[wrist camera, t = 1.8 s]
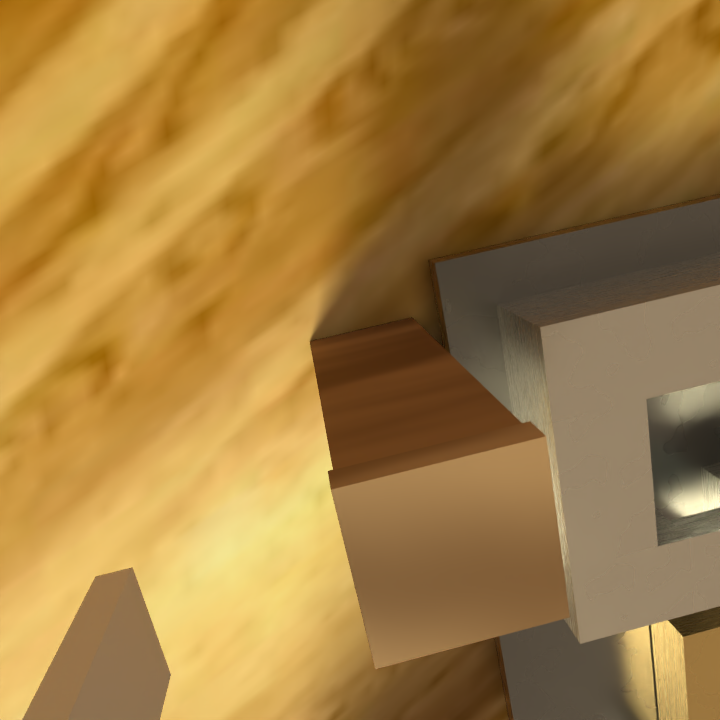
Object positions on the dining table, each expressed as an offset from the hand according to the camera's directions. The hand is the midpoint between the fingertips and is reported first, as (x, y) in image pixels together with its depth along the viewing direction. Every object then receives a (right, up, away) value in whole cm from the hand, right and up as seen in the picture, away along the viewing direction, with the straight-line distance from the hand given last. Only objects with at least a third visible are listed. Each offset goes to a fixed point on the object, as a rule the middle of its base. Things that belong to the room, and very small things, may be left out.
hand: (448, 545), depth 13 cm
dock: (+11, -4, +14) cm, 18 cm away
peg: (-1, +3, +11) cm, 11 cm away
